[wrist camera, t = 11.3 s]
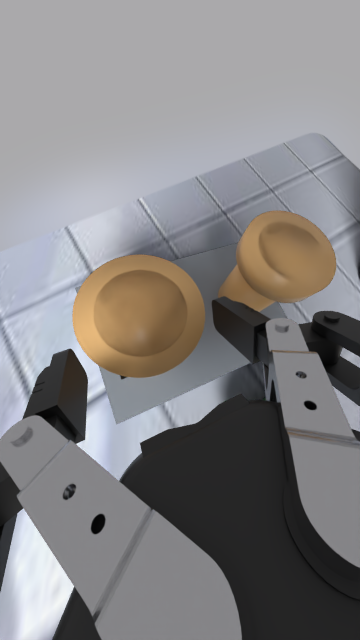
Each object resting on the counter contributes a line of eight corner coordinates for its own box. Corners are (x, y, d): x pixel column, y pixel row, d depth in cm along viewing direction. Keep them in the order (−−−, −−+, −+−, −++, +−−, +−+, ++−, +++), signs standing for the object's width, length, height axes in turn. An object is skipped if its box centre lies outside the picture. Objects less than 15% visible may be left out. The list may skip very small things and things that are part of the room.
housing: (232, 258, 23) (290, 170, 13) (278, 345, 20) (391, 315, 11) (86, 301, 19) (20, 221, 9) (122, 416, 16) (82, 467, 7)
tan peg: (164, 310, 19) (177, 242, 10) (186, 364, 18) (225, 347, 8) (107, 329, 18) (57, 272, 8) (126, 389, 17) (94, 401, 7)
